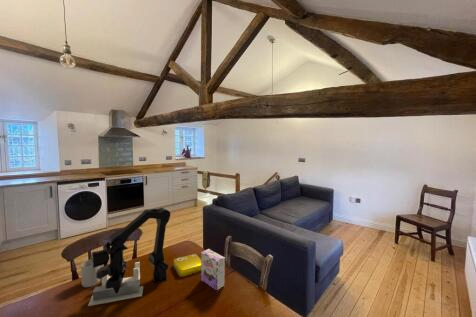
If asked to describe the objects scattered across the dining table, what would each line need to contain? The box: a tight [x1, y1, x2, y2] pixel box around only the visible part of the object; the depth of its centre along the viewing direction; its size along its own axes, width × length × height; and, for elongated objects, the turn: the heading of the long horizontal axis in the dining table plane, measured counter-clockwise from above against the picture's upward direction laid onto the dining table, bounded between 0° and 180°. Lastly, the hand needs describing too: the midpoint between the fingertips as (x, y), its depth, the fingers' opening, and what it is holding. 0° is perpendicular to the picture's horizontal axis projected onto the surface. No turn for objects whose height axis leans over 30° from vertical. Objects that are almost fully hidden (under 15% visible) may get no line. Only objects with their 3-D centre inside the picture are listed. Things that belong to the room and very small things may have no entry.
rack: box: [101, 261, 141, 286], centre depth 121 cm, size 18×7×8 cm, turn 108°
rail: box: [92, 280, 141, 300], centre depth 110 cm, size 20×4×4 cm, turn 108°
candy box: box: [200, 248, 226, 291], centre depth 121 cm, size 14×6×16 cm, turn 46°
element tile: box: [173, 253, 201, 278], centre depth 136 cm, size 15×15×5 cm
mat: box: [87, 285, 144, 307], centre depth 110 cm, size 23×7×1 cm, turn 108°
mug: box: [80, 259, 103, 288], centre depth 122 cm, size 12×8×11 cm
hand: (117, 290), depth 110 cm, fingers closed on rail, 4 cm apart
